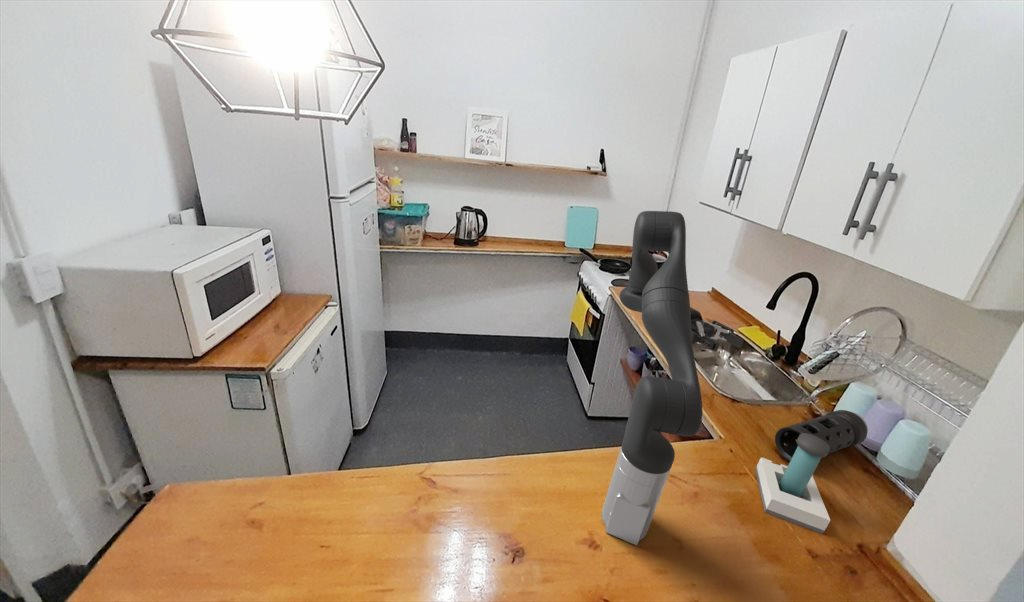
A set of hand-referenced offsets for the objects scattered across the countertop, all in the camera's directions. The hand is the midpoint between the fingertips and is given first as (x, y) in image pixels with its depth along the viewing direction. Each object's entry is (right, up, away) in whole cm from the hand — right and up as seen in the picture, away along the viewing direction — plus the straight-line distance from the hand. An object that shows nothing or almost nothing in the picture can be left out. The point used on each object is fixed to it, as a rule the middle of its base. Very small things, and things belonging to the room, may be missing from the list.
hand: (729, 346), depth 94 cm
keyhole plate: (+12, -35, -2) cm, 37 cm away
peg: (+12, -34, -2) cm, 36 cm away
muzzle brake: (+32, -31, +17) cm, 48 cm away
